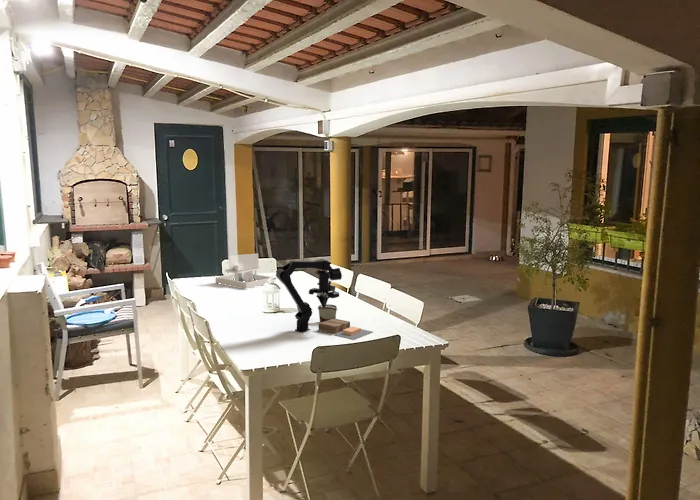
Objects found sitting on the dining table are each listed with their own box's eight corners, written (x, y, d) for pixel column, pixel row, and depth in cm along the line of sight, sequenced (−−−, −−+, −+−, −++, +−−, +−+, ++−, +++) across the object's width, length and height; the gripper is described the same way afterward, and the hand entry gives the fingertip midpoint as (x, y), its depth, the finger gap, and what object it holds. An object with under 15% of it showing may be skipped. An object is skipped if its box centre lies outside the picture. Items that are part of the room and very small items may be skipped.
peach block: (342, 330, 312) (342, 333, 312) (351, 331, 309) (351, 335, 309) (352, 326, 319) (352, 329, 320) (360, 328, 316) (360, 331, 316)
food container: (340, 321, 339) (340, 305, 338) (336, 323, 333) (336, 307, 332) (321, 319, 343) (321, 303, 341) (317, 322, 337) (317, 305, 335)
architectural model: (239, 288, 432) (238, 258, 428) (222, 285, 445) (221, 256, 441) (266, 282, 453) (265, 254, 450) (249, 279, 466) (248, 252, 463)
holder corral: (246, 289, 427) (246, 283, 426) (215, 283, 448) (215, 277, 447) (273, 283, 449) (273, 277, 449) (242, 278, 471) (242, 272, 470)
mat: (354, 339, 302) (354, 339, 302) (334, 335, 310) (334, 334, 310) (373, 332, 316) (373, 331, 316) (353, 327, 324) (353, 327, 324)
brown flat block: (335, 334, 312) (335, 327, 312) (318, 330, 320) (318, 323, 319) (350, 328, 323) (350, 321, 323) (333, 324, 331) (333, 318, 330)
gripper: (345, 280, 322) (345, 307, 324) (320, 277, 333) (320, 302, 335) (333, 284, 313) (333, 311, 315) (308, 280, 324) (308, 306, 326)
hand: (323, 307), depth 323 cm, fingers closed
